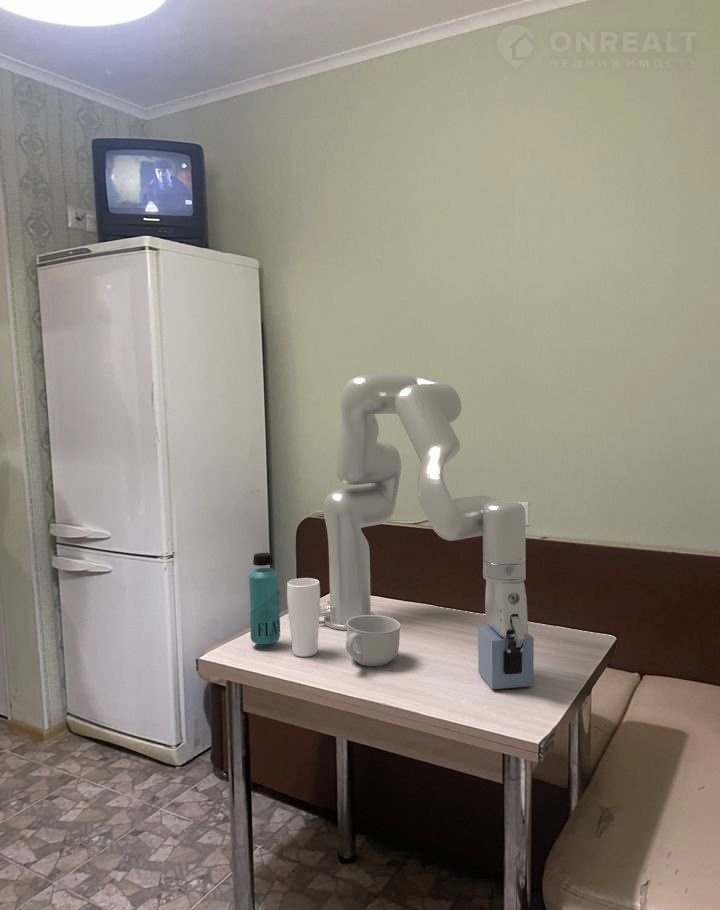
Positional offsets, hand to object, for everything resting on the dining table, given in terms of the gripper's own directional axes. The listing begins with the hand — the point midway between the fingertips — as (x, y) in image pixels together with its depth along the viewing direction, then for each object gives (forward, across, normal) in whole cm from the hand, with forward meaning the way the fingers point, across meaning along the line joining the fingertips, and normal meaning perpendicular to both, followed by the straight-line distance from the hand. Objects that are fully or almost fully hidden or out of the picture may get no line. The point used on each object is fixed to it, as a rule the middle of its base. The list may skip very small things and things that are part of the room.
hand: (504, 663), depth 128 cm
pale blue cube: (+3, 0, 0) cm, 3 cm away
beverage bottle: (+4, +28, +43) cm, 51 cm away
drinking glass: (+4, +22, +35) cm, 41 cm away
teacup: (+4, +14, +23) cm, 27 cm away
